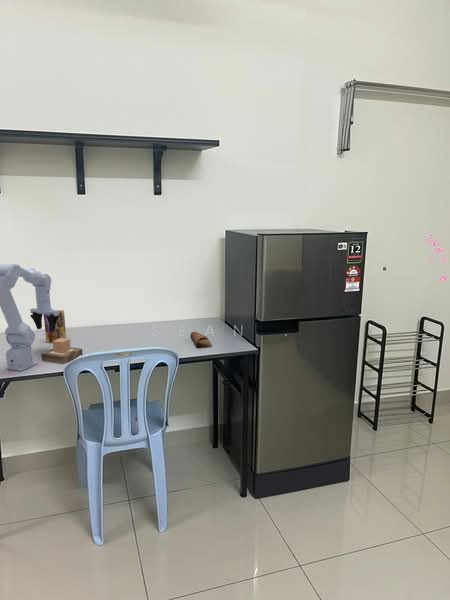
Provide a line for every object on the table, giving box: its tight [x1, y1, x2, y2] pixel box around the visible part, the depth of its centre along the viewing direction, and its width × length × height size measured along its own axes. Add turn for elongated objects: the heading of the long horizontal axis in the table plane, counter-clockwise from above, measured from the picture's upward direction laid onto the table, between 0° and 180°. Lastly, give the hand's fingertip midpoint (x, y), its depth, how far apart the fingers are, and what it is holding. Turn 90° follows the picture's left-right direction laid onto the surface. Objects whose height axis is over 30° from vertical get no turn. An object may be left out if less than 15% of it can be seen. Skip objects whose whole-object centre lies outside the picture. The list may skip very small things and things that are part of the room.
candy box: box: [42, 309, 67, 344], centre depth 217 cm, size 9×4×15 cm, turn 96°
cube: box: [52, 338, 71, 354], centre depth 194 cm, size 5×5×5 cm
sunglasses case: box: [189, 331, 213, 349], centre depth 216 cm, size 18×7×7 cm
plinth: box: [40, 346, 84, 365], centre depth 195 cm, size 12×12×3 cm
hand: (45, 329), depth 201 cm, fingers open, 7 cm apart
